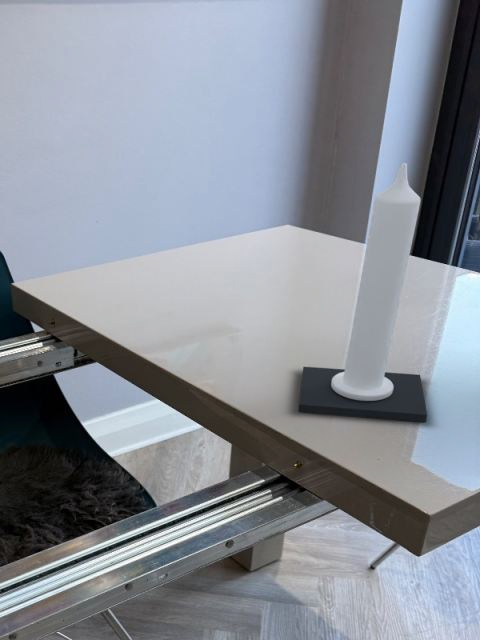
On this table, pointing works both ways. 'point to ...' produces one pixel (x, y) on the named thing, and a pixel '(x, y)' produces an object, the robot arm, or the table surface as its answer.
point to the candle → (379, 292)
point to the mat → (397, 406)
